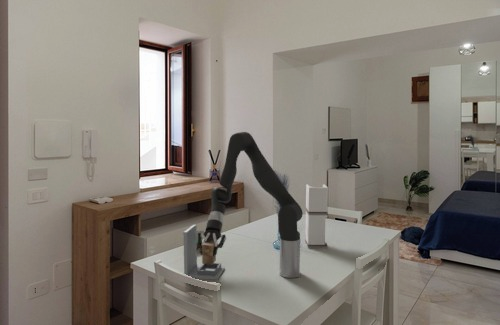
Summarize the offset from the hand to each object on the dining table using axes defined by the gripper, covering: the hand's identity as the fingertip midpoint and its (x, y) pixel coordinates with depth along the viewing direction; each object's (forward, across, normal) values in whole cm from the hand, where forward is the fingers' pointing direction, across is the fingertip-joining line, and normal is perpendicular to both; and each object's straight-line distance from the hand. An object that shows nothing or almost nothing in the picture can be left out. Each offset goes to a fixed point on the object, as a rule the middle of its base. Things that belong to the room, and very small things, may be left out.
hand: (208, 254), depth 163 cm
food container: (-17, -19, +31) cm, 40 cm away
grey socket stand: (+6, -2, +8) cm, 10 cm away
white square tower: (-30, +49, +44) cm, 73 cm away
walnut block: (+2, 0, +4) cm, 5 cm away
